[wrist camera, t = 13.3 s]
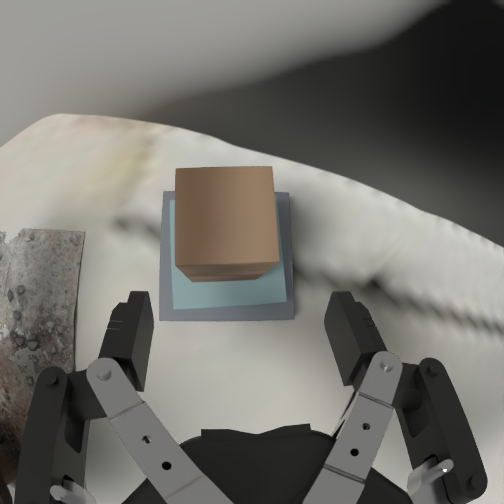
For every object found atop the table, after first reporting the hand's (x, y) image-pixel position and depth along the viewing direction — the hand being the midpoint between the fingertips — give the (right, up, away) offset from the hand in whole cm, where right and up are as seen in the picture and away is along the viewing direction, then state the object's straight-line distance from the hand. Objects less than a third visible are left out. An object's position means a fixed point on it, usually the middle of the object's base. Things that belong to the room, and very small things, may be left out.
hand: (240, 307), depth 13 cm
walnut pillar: (-2, +3, +12) cm, 12 cm away
